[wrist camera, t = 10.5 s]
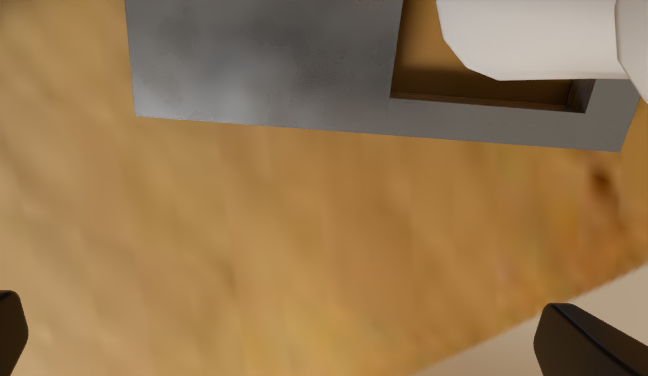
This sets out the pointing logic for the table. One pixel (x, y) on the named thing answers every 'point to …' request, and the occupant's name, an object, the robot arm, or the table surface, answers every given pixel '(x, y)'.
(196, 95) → the rail plate
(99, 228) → the table surface
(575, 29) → the salt shaker
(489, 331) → the table surface
